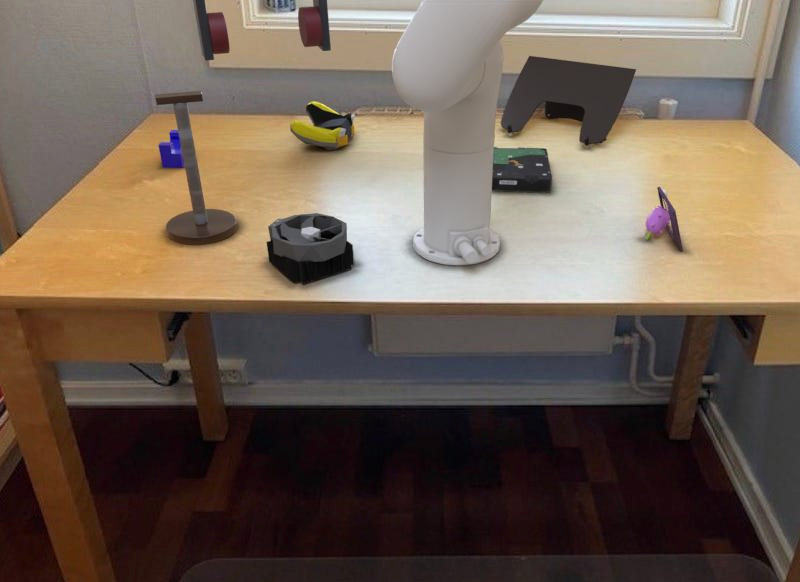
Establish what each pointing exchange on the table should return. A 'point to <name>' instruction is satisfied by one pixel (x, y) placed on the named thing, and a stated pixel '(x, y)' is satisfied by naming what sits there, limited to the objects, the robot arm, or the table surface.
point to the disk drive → (521, 170)
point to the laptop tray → (569, 95)
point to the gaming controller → (324, 127)
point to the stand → (194, 185)
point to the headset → (216, 33)
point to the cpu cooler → (309, 247)
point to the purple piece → (663, 219)
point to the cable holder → (172, 151)
